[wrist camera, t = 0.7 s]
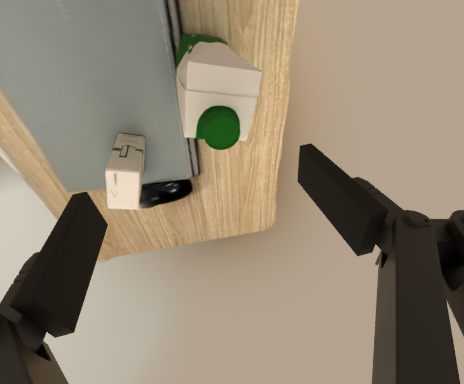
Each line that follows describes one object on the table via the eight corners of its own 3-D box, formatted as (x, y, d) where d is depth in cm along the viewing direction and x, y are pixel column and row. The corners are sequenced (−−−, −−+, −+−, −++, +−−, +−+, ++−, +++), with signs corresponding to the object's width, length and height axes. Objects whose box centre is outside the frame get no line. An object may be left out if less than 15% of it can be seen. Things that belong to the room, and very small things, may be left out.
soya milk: (174, 89, 39) (179, 151, 25) (175, 24, 33) (182, 56, 19) (224, 94, 42) (255, 154, 27) (233, 35, 36) (278, 70, 21)
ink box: (144, 172, 49) (139, 212, 40) (118, 169, 47) (107, 210, 39) (145, 135, 44) (140, 172, 35) (116, 131, 42) (104, 169, 33)
